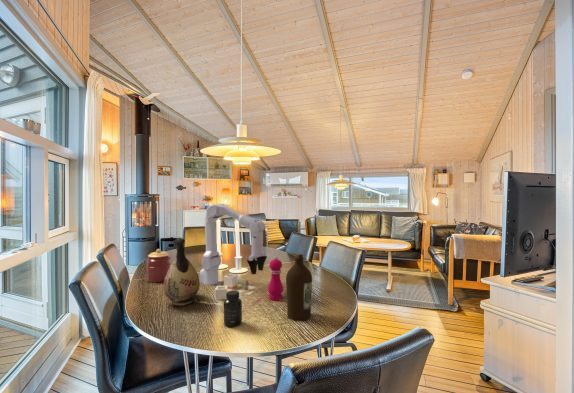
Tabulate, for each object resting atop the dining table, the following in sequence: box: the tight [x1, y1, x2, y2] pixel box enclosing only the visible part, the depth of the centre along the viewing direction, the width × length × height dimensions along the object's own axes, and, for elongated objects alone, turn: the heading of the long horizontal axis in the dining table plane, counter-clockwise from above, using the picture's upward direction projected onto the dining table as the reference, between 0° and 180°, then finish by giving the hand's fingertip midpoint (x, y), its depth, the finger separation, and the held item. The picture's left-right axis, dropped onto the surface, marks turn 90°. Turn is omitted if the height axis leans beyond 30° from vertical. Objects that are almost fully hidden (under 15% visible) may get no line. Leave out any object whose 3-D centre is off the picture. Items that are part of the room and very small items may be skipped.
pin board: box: [214, 279, 261, 296], centre depth 149 cm, size 20×12×6 cm, turn 68°
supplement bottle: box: [223, 291, 243, 328], centre depth 112 cm, size 7×7×12 cm
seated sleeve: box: [223, 273, 239, 289], centre depth 151 cm, size 5×5×6 cm
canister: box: [145, 248, 172, 283], centre depth 170 cm, size 13×13×18 cm
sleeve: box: [215, 285, 227, 304], centre depth 136 cm, size 5×5×6 cm
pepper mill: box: [267, 256, 284, 302], centre depth 139 cm, size 7×7×20 cm
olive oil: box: [285, 253, 313, 322], centre depth 119 cm, size 11×11×25 cm
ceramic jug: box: [163, 237, 201, 306], centre depth 133 cm, size 17×15×30 cm
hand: (257, 272), depth 148 cm, fingers open, 7 cm apart
